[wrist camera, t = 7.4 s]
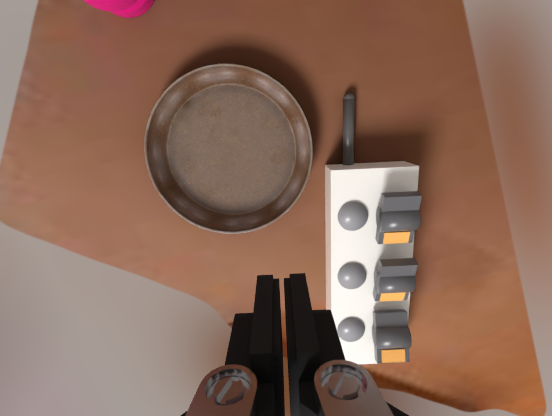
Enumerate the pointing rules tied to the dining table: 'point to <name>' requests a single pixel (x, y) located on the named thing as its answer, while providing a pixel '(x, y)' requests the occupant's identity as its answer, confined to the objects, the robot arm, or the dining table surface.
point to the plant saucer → (228, 148)
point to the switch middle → (394, 279)
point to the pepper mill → (122, 6)
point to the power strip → (359, 240)
